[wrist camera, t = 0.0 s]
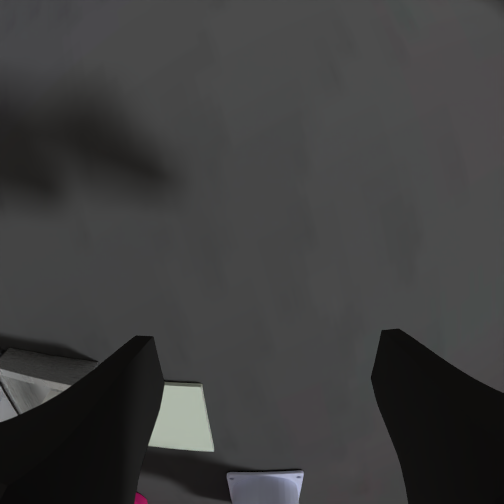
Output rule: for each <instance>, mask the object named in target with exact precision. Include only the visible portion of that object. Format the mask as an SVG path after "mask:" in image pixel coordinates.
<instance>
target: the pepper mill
mask: <svg viewBox="0 0 504 504" xmlns="http://www.w3.org/2000/svg"><path fill="white" fill-rule="evenodd" d="M134 504H147V500H146V498H145V497H144V496H142V495H141V494H139V493H138V492H136V496H135V503H134Z"/></svg>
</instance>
